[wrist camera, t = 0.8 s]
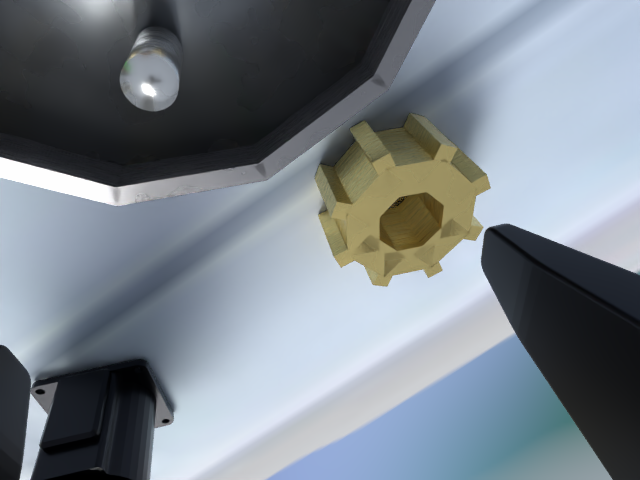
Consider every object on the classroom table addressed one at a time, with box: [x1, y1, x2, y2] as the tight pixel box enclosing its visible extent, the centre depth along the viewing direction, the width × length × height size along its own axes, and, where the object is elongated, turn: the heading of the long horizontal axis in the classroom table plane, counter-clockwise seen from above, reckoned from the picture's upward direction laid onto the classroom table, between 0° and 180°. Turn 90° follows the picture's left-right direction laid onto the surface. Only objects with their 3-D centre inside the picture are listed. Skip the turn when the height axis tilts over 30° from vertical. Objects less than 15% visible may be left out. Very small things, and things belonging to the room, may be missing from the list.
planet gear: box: [315, 113, 491, 286], centre depth 21 cm, size 7×7×4 cm
